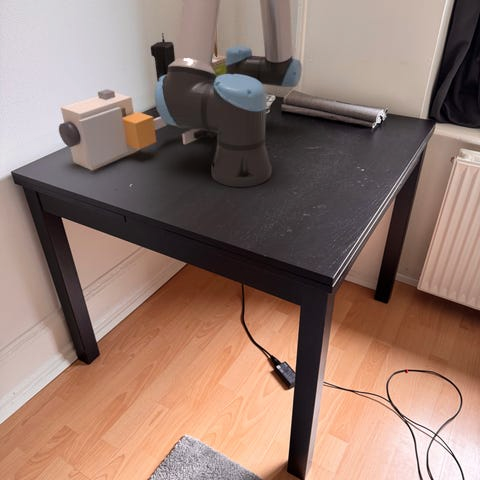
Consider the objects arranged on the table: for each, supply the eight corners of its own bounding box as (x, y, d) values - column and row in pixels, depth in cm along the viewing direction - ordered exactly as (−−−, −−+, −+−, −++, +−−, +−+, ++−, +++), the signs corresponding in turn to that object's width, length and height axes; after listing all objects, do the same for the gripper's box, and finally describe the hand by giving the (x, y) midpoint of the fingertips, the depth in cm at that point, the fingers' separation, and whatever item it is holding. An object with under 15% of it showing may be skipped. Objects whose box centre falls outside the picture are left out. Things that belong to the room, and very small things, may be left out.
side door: (157, 149, 123) (151, 105, 116) (103, 172, 112) (93, 125, 105) (142, 143, 126) (135, 100, 120) (88, 166, 115) (78, 120, 108)
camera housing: (140, 150, 127) (132, 91, 118) (87, 173, 116) (72, 110, 106) (120, 143, 132) (111, 86, 122) (67, 165, 120) (52, 103, 111)
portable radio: (175, 122, 145) (167, 38, 131) (157, 121, 147) (147, 38, 132) (182, 113, 152) (175, 33, 137) (165, 112, 153) (157, 32, 138)
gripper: (252, 132, 128) (201, 158, 114) (188, 114, 141) (135, 135, 127) (252, 106, 123) (199, 129, 110) (186, 90, 136) (131, 109, 123)
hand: (165, 133), depth 118 cm, fingers open, 13 cm apart
